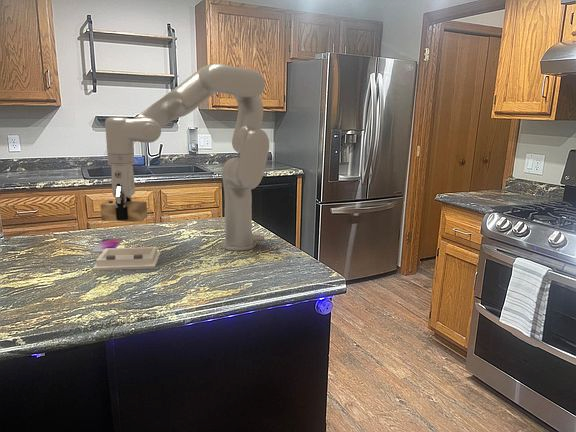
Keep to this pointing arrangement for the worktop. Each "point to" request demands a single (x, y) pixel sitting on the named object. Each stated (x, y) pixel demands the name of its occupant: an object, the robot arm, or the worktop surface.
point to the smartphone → (106, 245)
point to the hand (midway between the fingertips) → (124, 216)
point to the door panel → (134, 208)
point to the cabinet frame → (127, 258)
